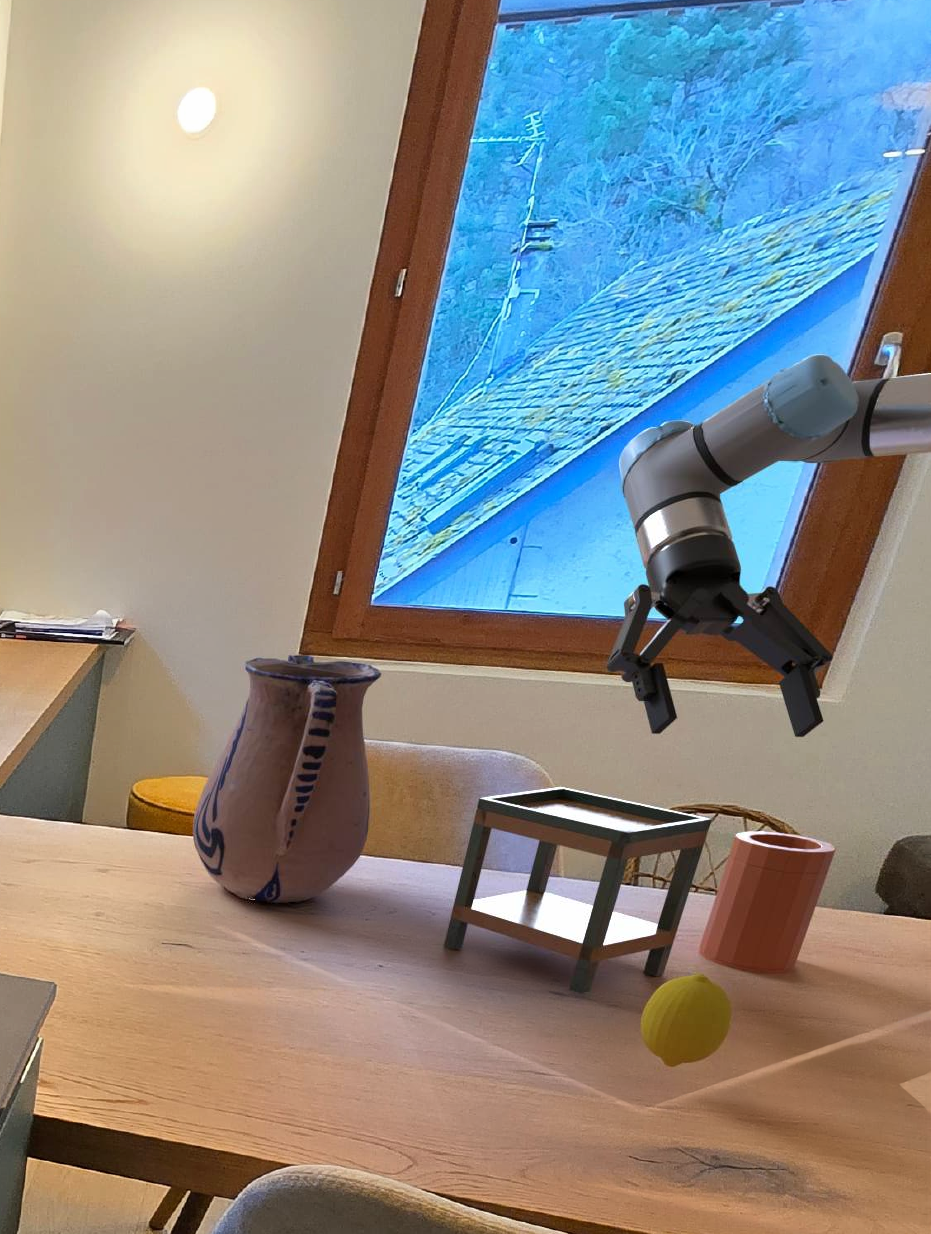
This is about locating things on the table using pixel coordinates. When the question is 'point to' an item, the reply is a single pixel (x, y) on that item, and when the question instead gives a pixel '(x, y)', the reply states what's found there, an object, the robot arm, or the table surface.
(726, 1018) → the lemon
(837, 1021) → the table surface
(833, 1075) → the table surface
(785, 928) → the flower pot
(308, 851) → the ceramic pitcher
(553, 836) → the rack
